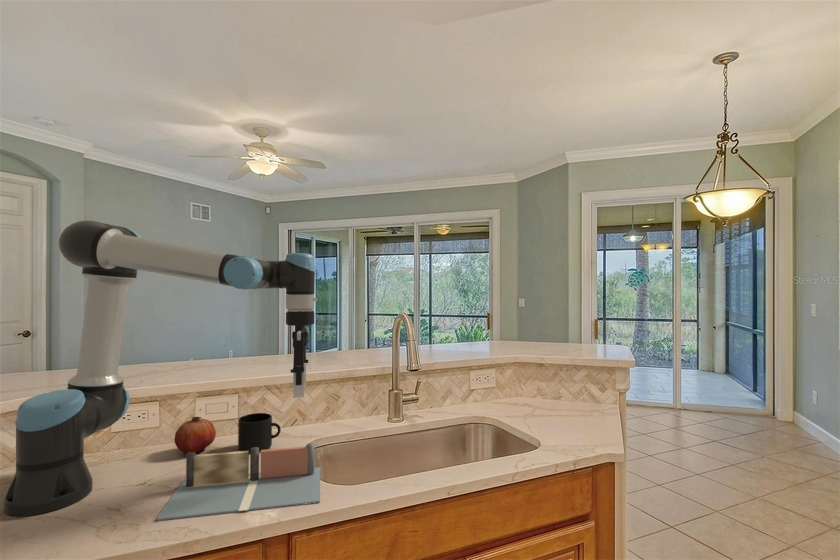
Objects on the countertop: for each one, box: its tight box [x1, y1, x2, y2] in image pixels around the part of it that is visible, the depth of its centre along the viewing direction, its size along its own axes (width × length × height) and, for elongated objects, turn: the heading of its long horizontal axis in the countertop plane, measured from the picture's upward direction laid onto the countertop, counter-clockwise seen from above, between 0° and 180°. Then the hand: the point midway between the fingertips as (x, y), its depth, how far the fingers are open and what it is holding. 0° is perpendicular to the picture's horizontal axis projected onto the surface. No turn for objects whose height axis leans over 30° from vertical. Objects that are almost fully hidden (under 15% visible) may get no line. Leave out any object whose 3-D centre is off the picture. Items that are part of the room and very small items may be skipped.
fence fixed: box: [185, 447, 260, 487], centre depth 103 cm, size 16×2×8 cm, turn 103°
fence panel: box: [260, 442, 315, 478], centre depth 107 cm, size 13×2×7 cm, turn 103°
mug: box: [237, 412, 282, 454], centre depth 127 cm, size 9×12×9 cm
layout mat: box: [155, 466, 321, 522], centre depth 99 cm, size 33×18×1 cm, turn 103°
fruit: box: [174, 416, 217, 453], centre depth 124 cm, size 11×10×10 cm
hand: (299, 391), depth 114 cm, fingers open, 10 cm apart
